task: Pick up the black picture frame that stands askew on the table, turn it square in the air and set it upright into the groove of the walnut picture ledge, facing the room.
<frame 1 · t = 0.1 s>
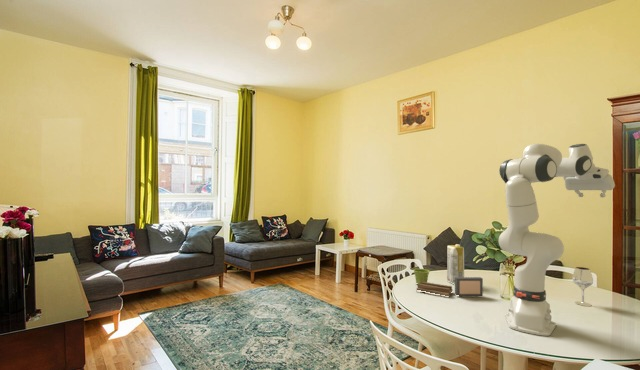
hand: (592, 196, 169), 54 cm above the table, tool tilted 30°, fingers open, 8 cm apart
picture frame: (468, 296, 175), on the table
wineglass: (582, 304, 164), on the table
plant pot: (421, 285, 196), on the table
juice carton: (455, 283, 200), on the table
picture ledge: (434, 292, 181), on the table
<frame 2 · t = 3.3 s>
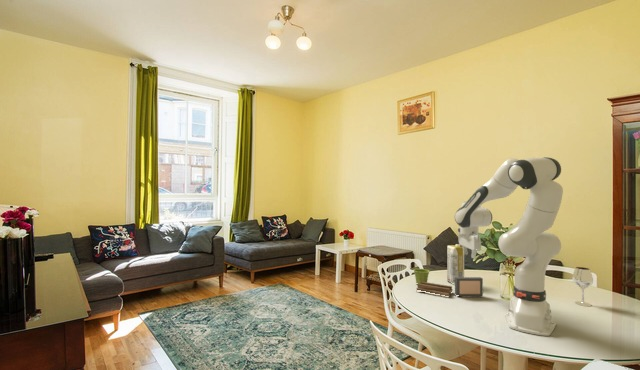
hand: (469, 256, 176), 21 cm above the table, tool pointing down, fingers open, 8 cm apart
nothing on the table moved.
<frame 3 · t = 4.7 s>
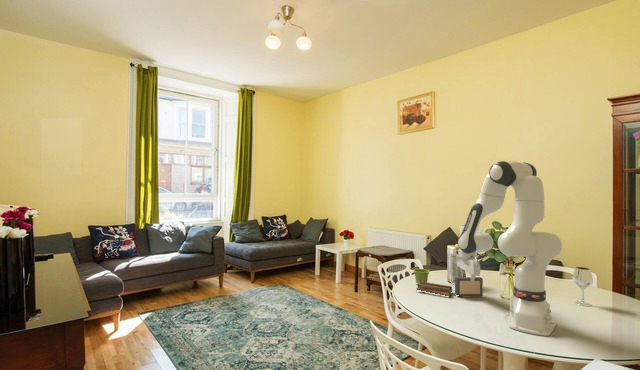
hand: (467, 279, 176), 9 cm above the table, tool pointing down, fingers open, 8 cm apart
nothing on the table moved.
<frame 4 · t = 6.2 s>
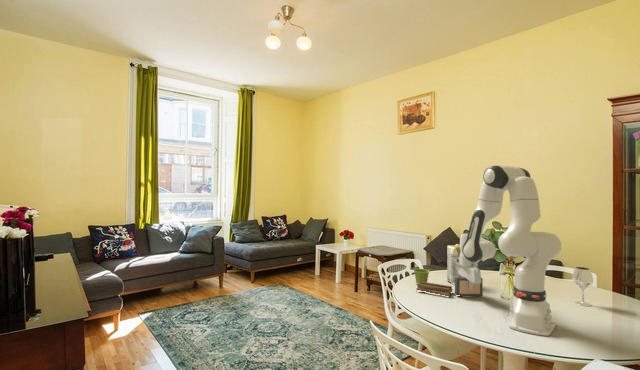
hand: (468, 287, 175), 5 cm above the table, tool pointing down, fingers closed on picture frame, 3 cm apart
picture frame: (468, 296, 175), on the table, touching gripper
everything else where it was.
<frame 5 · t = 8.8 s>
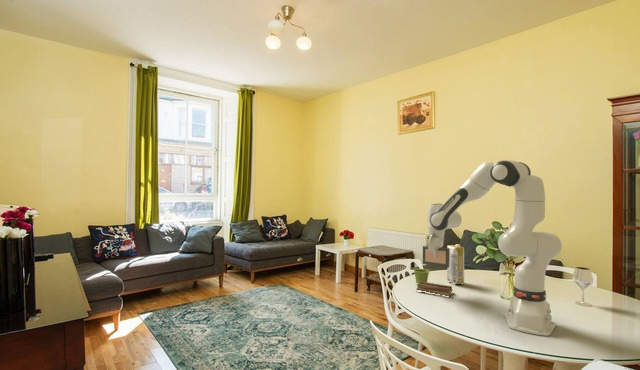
hand: (435, 257, 182), 20 cm above the table, tool pointing down, fingers closed on picture frame, 3 cm apart
picture frame: (435, 265, 182), point 15 cm above the table, touching gripper
everything else where it was.
when the fingers open (7 cm above the table, at t = 11.2 s): picture frame stays where it is, resting on picture ledge.
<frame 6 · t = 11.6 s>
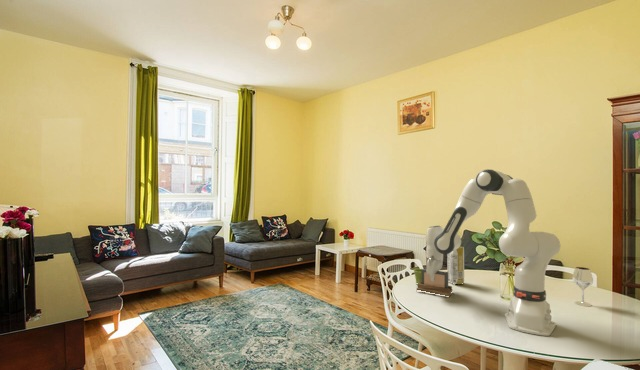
hand: (434, 279, 181), 7 cm above the table, tool pointing down, fingers open, 6 cm apart
picture frame: (434, 288, 181), point 2 cm above the table, touching picture ledge
everything else where it was.
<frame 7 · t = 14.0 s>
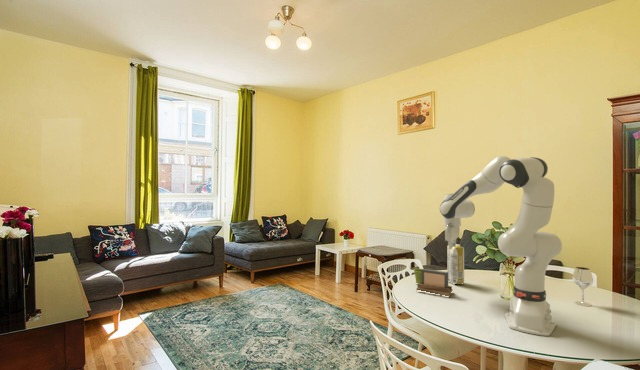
hand: (452, 247, 181), 25 cm above the table, tool pointing down, fingers open, 8 cm apart
nothing on the table moved.
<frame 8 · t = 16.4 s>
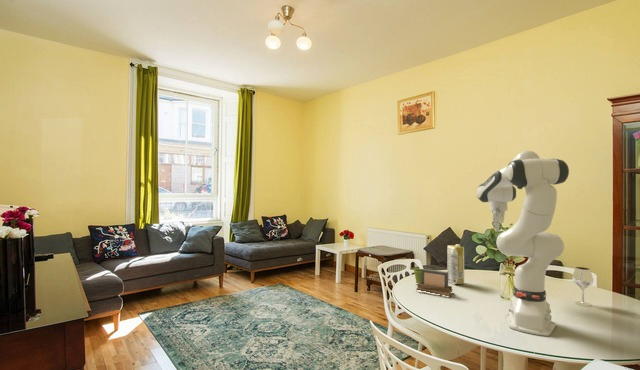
hand: (498, 232, 180), 34 cm above the table, tool pointing down, fingers open, 8 cm apart
nothing on the table moved.
at the end: picture frame inside the target area on the picture ledge (0.1 cm from its centre), point 2.0 cm above the picture ledge's base; picture frame tilted 0°; the gripper is holding nothing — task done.
